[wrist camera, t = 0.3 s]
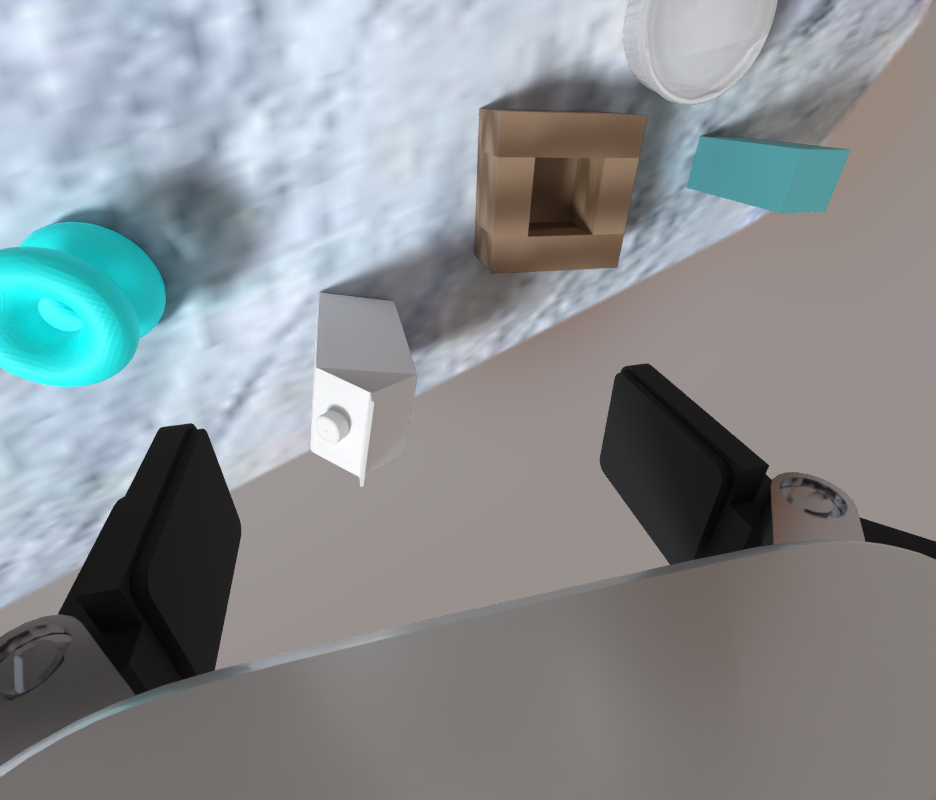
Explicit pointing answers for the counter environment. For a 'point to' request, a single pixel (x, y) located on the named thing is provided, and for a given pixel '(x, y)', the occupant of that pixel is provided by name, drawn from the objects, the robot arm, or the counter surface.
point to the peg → (768, 173)
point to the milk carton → (360, 383)
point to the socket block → (554, 188)
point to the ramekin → (694, 44)
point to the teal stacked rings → (75, 304)
